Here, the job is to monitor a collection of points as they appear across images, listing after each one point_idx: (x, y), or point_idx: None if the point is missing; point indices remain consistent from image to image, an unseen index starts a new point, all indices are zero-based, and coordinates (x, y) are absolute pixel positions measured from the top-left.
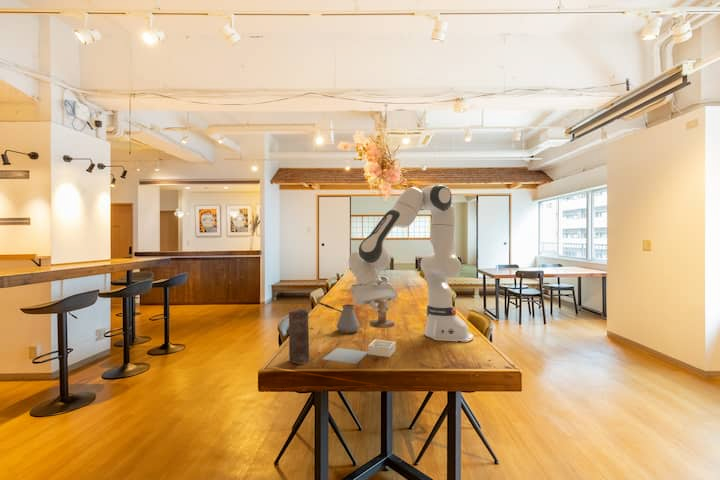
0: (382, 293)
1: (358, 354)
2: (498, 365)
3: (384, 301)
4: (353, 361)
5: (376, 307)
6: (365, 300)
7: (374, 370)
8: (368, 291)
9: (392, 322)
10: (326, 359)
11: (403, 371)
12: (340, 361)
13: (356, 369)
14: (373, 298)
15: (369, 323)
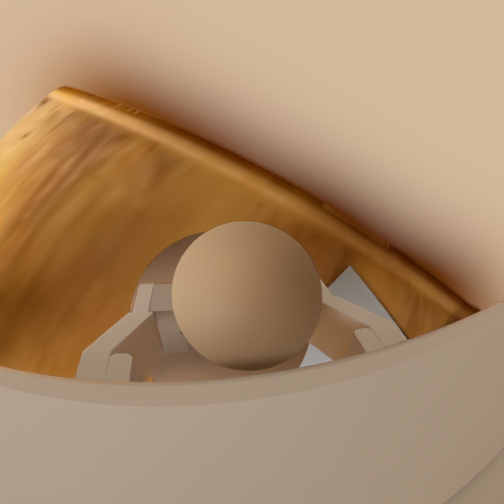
0: (118, 484)
1: (309, 343)
2: (43, 111)
3: (240, 226)
4: (349, 287)
5: (326, 288)
6: (473, 315)
7: (313, 209)
8: (493, 464)
9: (153, 277)
10: (405, 338)
11: (243, 163)
12: (380, 306)
13: (354, 241)
14: (401, 347)
15: (301, 357)
